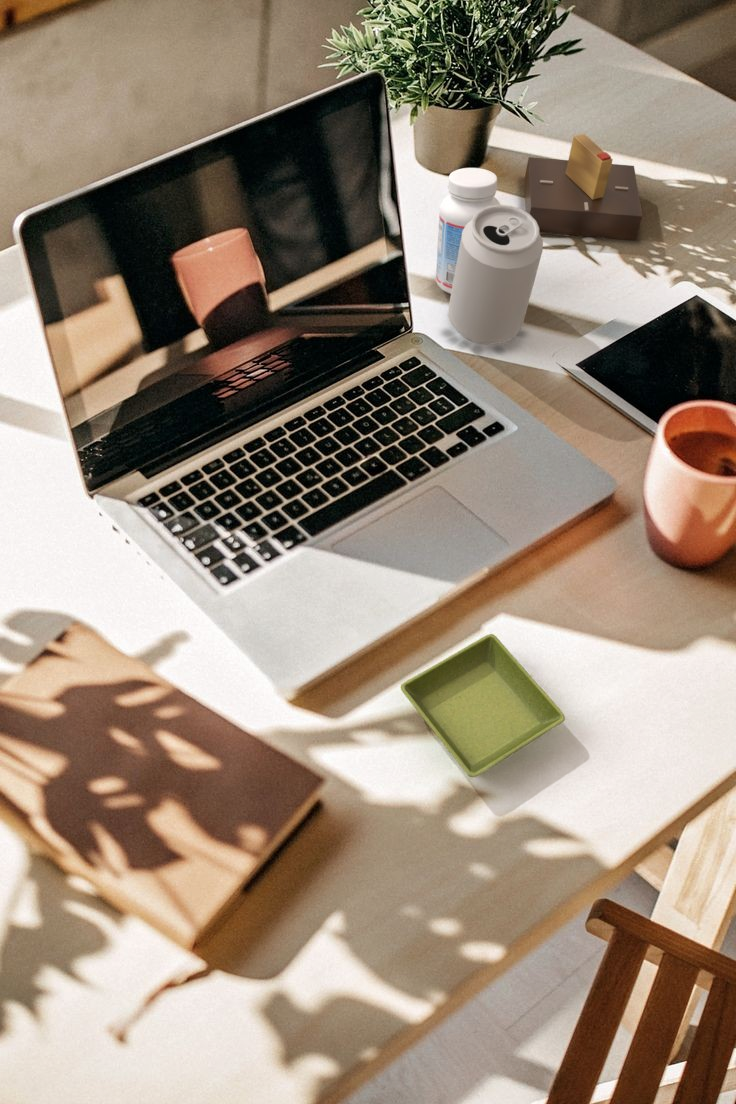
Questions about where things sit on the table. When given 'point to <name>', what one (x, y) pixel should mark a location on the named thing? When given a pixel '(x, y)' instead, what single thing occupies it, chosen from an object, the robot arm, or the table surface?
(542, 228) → the base
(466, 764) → the green square dish
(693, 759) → the table surface
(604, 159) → the tap handle
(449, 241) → the pill bottle
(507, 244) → the can
